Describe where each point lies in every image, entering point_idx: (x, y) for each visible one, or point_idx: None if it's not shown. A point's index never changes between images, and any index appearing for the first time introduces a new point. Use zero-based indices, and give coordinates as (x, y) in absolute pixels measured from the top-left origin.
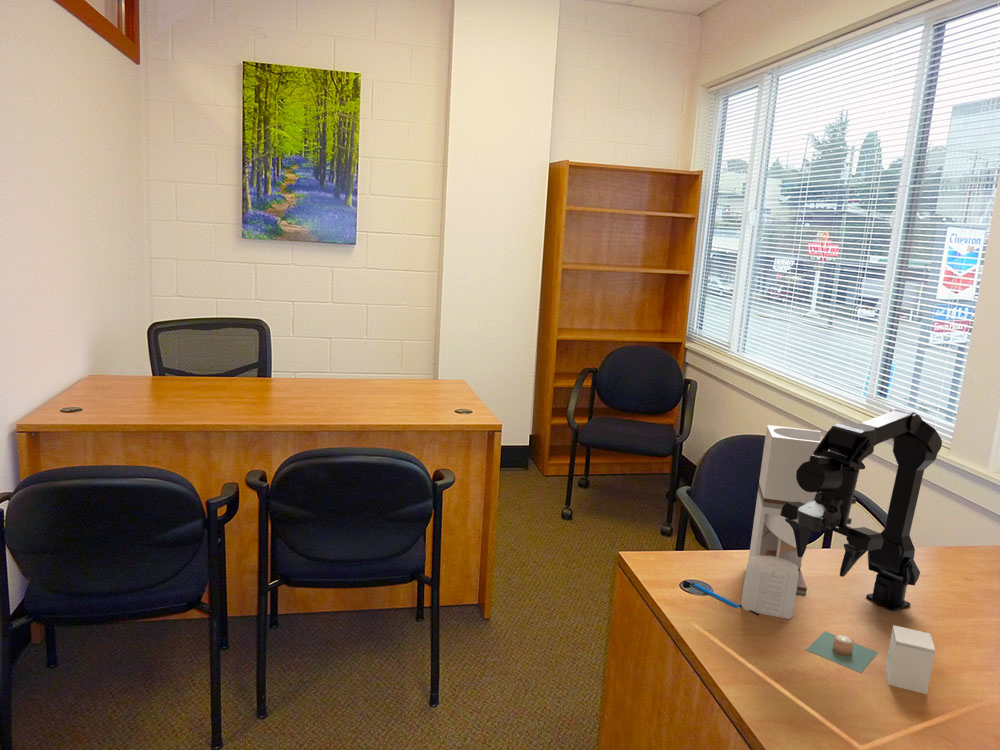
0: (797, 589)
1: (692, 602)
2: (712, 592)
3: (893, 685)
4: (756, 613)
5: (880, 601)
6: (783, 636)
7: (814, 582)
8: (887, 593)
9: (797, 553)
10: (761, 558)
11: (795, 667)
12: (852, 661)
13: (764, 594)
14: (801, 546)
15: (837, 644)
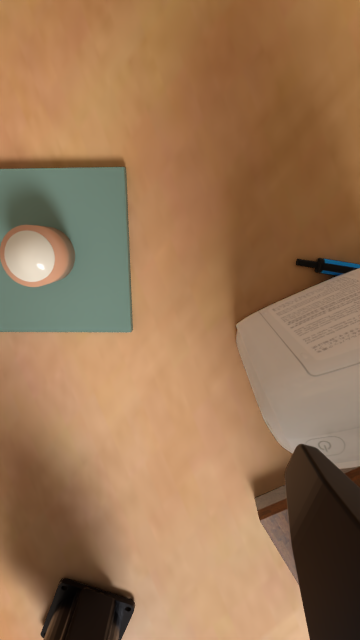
0: (281, 502)
1: None
2: None
3: None
4: (330, 265)
5: (88, 594)
6: (213, 213)
7: (265, 589)
8: (66, 628)
9: (330, 462)
10: None
11: (109, 45)
12: (2, 216)
13: (348, 295)
14: (337, 532)
15: (42, 227)
